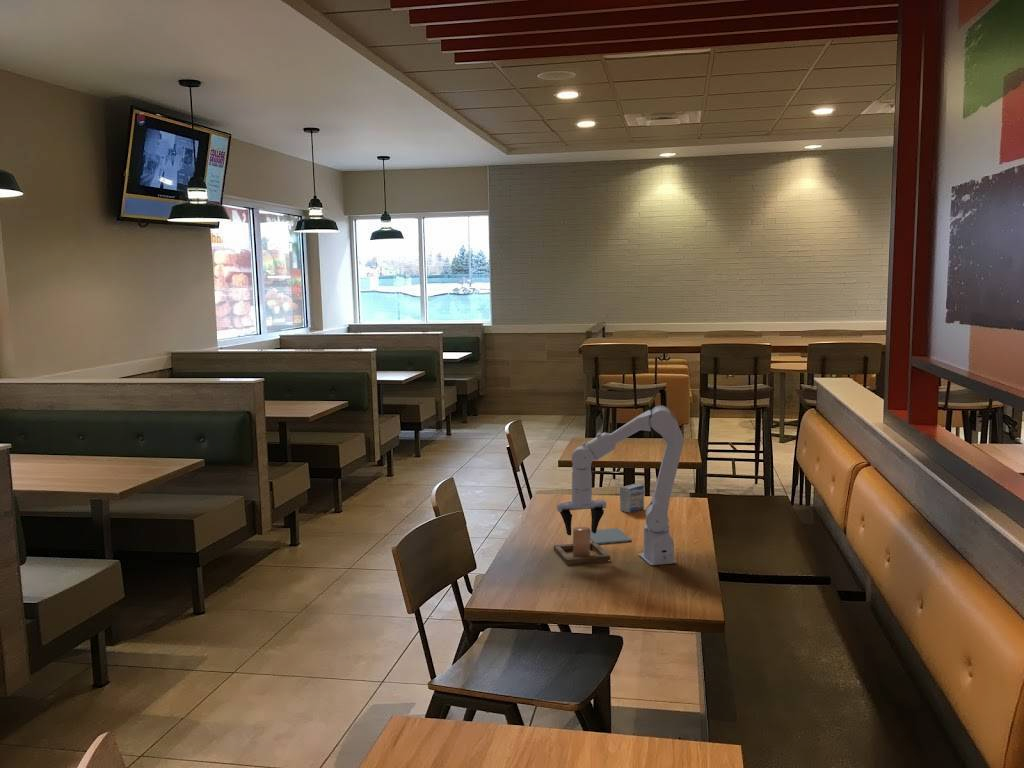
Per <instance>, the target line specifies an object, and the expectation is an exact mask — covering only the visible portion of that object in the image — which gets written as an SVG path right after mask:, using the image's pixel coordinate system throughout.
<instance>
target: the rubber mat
mask: <svg viewBox="0 0 1024 768" xmlns="http://www.w3.org/2000/svg"><path fill="white" fill-rule="evenodd" d="M590 540H591V541H592V542H596V543H597V544H599V545H608V544H607V543H610V544H618V543H617V542H621V543H629V542H628V541H633V539H632V538H630V536H628V535H627V534H626V533H624V532H623V531H622V530H620V529H619V528H618V527H614V528H603V529H597V531H596V533H593V532H592V530H591V529H590ZM591 541H590V542H591Z"/></svg>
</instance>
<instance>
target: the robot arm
mask: <svg viewBox="0 0 1024 768" xmlns="http://www.w3.org/2000/svg"><path fill="white" fill-rule="evenodd" d="M651 428H652V430H654V431H655V432H656V433H658V434H659V435H660V436H661V437H662V438H663V440H664V441H665V446H664V451H663V456H662V459H661V462H660V467H659V470H658V475H657V479H656V483H655V488H654V491H653V494H652V497H651V500H650V503H649V504H648V505H647V506H646V507H645V516H646V518H645V524H644V526H643V552H639V553H638V554H637V555H638V556H639V557H641V559H642V560H644V561H645V562H646V563H647V564H649V565H650V566H658V565H659V566H660V565H669V564H677V560H676V559H674V555H675V554H674V551H675V549H674V547H675V543H674V539H673V538H672V537H671V534H670V526H669V517H668V512H669V506H670V499H671V495H672V491H673V487H674V483H675V478H676V475H677V472H678V467H679V463H680V459H681V456H682V451H683V448H684V447H683V446H684V443H685V439H684V435H683V433H682V430H681V428H680V425H679V423H678V421H677V418H676V416H675V414H674V413H673V412H672V410H670V409H669V408H668V407H667V406H665V405H657V406H654V407H653V408H652V409H647V410H646V411H644V412H643V413H641V414H638V415H637V416H635V417H634V418H632V419H630V420H629V421H628V422H626V423H625V424H623V425H622V426H620V427H619V428H618V429H615V430H614V431H612V432H611V433H609V432H605V431H604V432H602V433H601V432H598V433H596V435H595V437H594V438H593V439H591V440H589V441H587V442H585V441H584V442H583V443H582V445H581V446H580V445H579V446H577V447H576V448H574V450H573V451H572V455H571V463H572V467H571V468H572V472H571V501H566V502H565V501H564V502H560V503H559V502H558V503H556V511H557V512H559V513H560V516H561V518H562V520H563V523H564V525H565V530H566V534H567V536H572V518H573V514H572V513H571V511H579V510H590V515H591V526H590V530H592V532H593V533H596V531H597V530H598V526H599V523H600V521H601V518H602V517H603V515H604V513H605V510H604V509H607V501H606V500H604V499H603V500H597V499H595V500H594V499H592V498H593V497H592V491H593V489H592V488H593V483H592V481H593V477H592V475H593V474H592V463H593V461H598V460H599V459H601V458H603V457H604V456H606V455H607V454H609V453H611V452H613V451H614V450H615V449H616V445H617V444H618V443H619V442H621V441H624V440H625V439H627V438H629V437H630V436H632V435H634V434H636V433H638V432H640V431H645V432H646V431H647V432H651Z"/></svg>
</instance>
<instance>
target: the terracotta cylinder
mask: <svg viewBox="0 0 1024 768" xmlns="http://www.w3.org/2000/svg"><path fill="white" fill-rule="evenodd" d="M590 530H591V527H587V526H575V527H573V529H572V544H573V550H572V556H573V557H584V556H591V549H590V542H591V541H590Z"/></svg>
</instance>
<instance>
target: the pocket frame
mask: <svg viewBox="0 0 1024 768" xmlns="http://www.w3.org/2000/svg"><path fill="white" fill-rule="evenodd" d="M590 548H592V549H591V550H593V551H594V550H595V551H594V553H596V552H597V553H596V555H590V556H584V557H574V556H573V557H571V556H569V555H568V554H567V552H570V550H571V551H573V543H569V544H568V543H567V544H554V545H553V551H554V552H555V554H557V555H558V557H559V558H560V559H561V560H562V561H563V563H565V565H567V566H570V565H571V564H573V565H581V564H580V563H583V564H589V563H588V562H594V563H599V562H598V561H604V562H609V561H608V560H610V561H611V555H610V554H609V553H608V552H607V551H606V550H605V549H604V548H602V547H601V546H600V544H599V545H598V544H597V543H596V542H591V541H590ZM598 554H599V555H598ZM571 566H572V565H571Z"/></svg>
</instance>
